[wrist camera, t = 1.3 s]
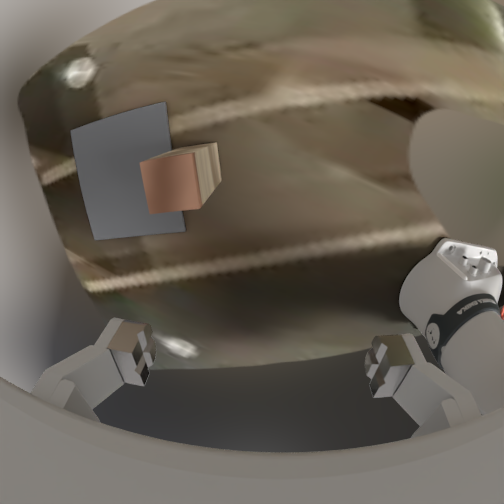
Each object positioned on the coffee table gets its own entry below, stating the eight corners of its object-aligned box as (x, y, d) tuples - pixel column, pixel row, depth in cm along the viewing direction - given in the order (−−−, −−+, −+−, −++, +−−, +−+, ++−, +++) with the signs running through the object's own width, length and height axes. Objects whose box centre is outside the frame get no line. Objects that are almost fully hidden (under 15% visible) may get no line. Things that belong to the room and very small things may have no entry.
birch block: (217, 142, 33) (191, 153, 22) (221, 180, 35) (199, 208, 25) (179, 147, 34) (139, 162, 23) (185, 184, 36) (149, 214, 25)
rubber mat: (165, 101, 31) (164, 101, 30) (186, 230, 39) (185, 231, 38) (71, 130, 32) (70, 130, 32) (96, 239, 40) (94, 240, 40)
